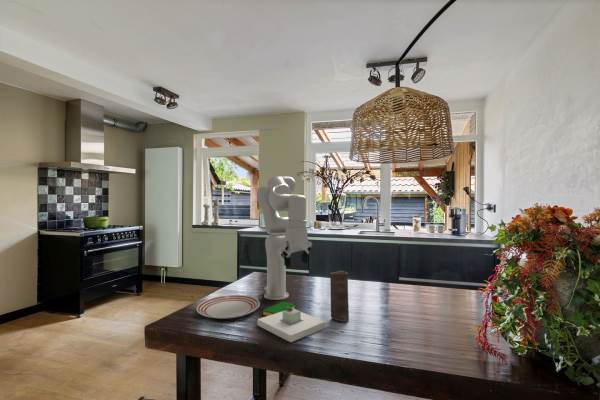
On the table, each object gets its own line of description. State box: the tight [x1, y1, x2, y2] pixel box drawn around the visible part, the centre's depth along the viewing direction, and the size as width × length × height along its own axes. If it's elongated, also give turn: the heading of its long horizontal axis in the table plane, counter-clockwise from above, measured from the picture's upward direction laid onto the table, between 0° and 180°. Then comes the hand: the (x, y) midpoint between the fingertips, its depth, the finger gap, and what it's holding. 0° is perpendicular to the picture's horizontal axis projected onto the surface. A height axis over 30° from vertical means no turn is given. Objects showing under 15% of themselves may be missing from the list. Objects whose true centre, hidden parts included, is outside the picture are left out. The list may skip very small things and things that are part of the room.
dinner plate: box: [196, 294, 261, 320], centre depth 137 cm, size 27×27×3 cm
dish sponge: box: [262, 301, 295, 317], centre depth 137 cm, size 7×14×2 cm, turn 145°
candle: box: [329, 270, 350, 323], centre depth 127 cm, size 8×7×20 cm
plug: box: [283, 306, 302, 326], centre depth 120 cm, size 6×5×7 cm
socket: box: [257, 311, 327, 343], centre depth 120 cm, size 20×18×3 cm
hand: (296, 264), depth 130 cm, fingers open, 9 cm apart
